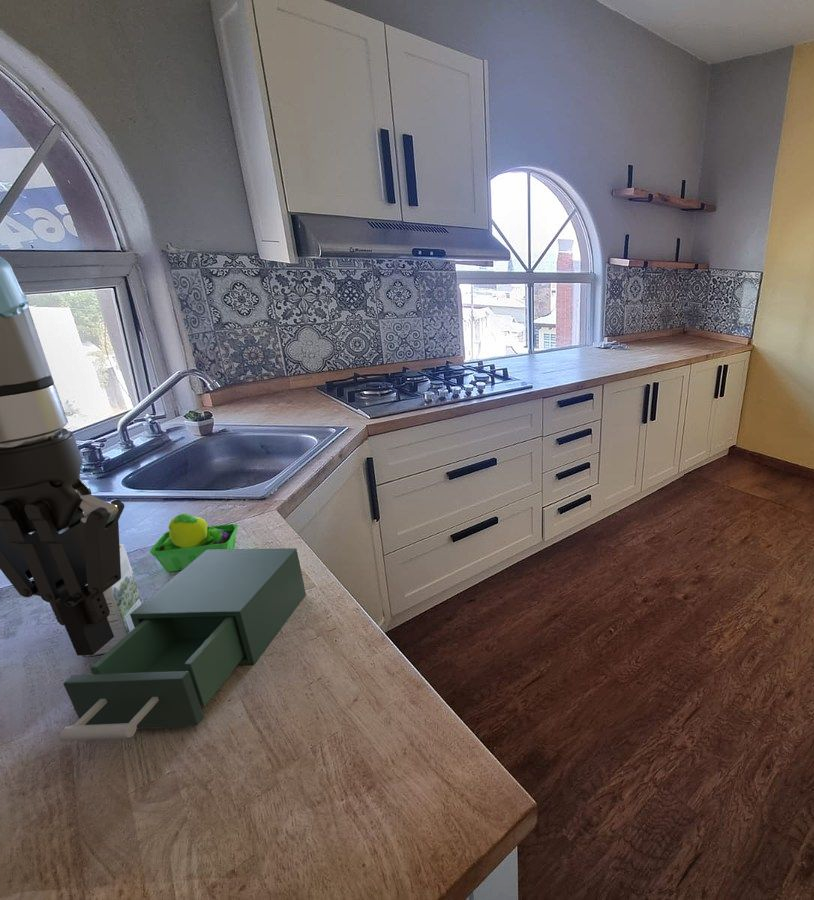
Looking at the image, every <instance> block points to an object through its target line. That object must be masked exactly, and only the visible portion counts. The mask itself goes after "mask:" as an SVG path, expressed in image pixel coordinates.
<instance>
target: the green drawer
mask: <svg viewBox="0 0 814 900" xmlns="http://www.w3.org/2000/svg"><path fill="white" fill-rule="evenodd" d="M244 656H245V650H244V646H243V643H242V639H241V635H240V632H239V628H238V624H237V621H236V617H235V616H221V617H183V618H146V619H144V620H143V621H142V622H141V623H140V624H139V625H138V626H136V627H135V628H134V629H133V630H132V631H131V632H130V633H128V634H127V635H126V636H125V637H124V638H123V639H122V640H120V641H119V642H118V643H117V644H116V645H115V646H114V647H113V648H111V649H110V650H109V651H108V652H107V653H105V654H102V656H101V657H100V658H99V659H97V660H96V662H94V663H93V664H92V665H91V666H90V667H89V669H90V672H91V674H72V675H70V677H69V678H67V679H66V680H65V681H64V682H63V686H64V689H65V690H66V693H67V695H68V697H69V699H70V702H71V704H72V707H73V708H74V710H75V713H76V715H77V718H78V720H77V721H75V723H73V724H72V725H67V726H65V727H64V728H62V729H61V731H60V733H59V740H60V741H62V742H69V741H91V740H113V739H130V738H132V737H133V736H134V735H135V733H136V732H137V729H157V728H159V729H160V728H161V729H162V728H179V727H180V728H181V727H182V728H183V727H198V726H199V725H200V724H201V722H203V720H204V718H205V715H204V714H203V710H202V707H203V708H205V707H206V705H207V704H208V703H209V702H210V701H211V699H212V698H213V697H214V695H215V694H216V693H217V691H218V690H219V689H220V688H221V687H222V685H223V684H224V682H226V680H227V679H228V678H229V676H230V675H231V674H232V673H233V671H234V670H235V669H236V668H237V666H239V665H238V663H239V662H240V661H241V659H242V658H243V657H244Z"/></svg>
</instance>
